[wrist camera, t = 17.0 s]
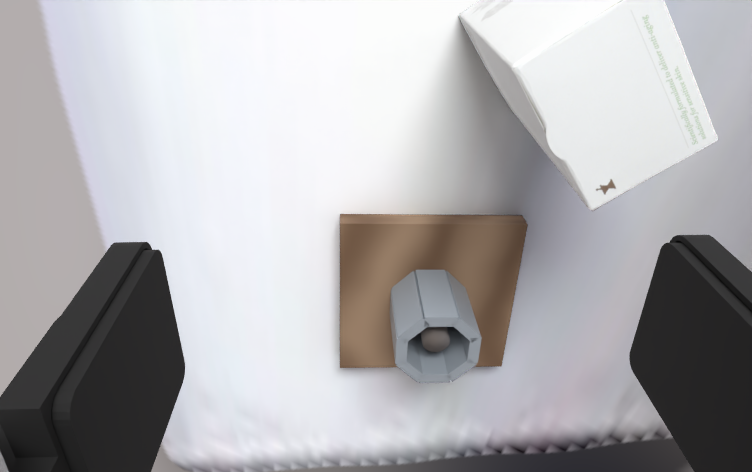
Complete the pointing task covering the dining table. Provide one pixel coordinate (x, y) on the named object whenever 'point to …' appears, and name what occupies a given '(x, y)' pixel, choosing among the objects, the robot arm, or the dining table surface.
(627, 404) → the dining table surface
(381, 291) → the roll stand
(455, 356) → the roll
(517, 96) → the skincare box
